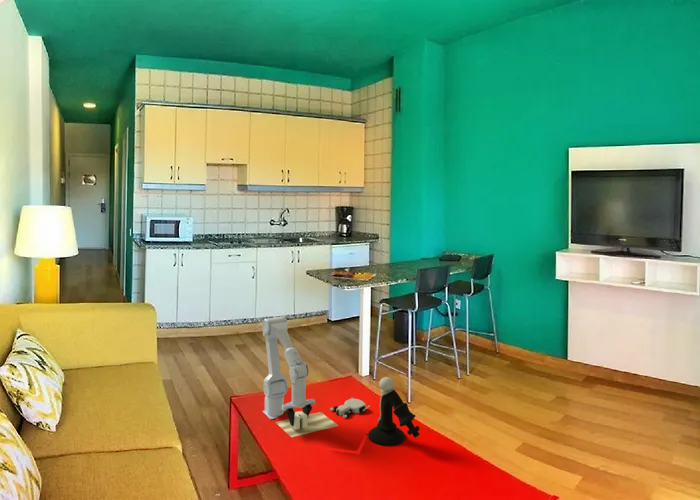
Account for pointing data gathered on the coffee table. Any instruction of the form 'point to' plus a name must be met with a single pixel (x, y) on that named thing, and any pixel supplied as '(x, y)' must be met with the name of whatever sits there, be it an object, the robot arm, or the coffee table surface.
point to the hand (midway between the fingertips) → (298, 423)
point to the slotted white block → (297, 418)
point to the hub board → (308, 425)
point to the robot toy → (350, 407)
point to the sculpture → (386, 428)
